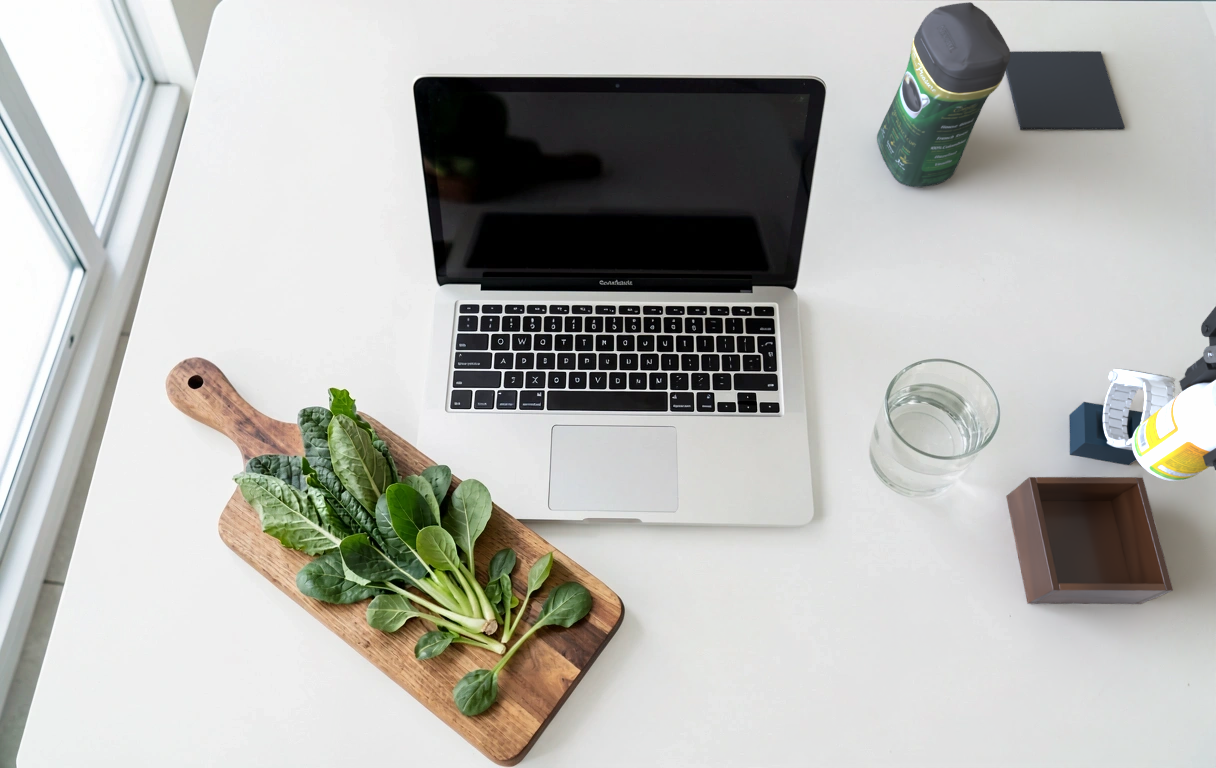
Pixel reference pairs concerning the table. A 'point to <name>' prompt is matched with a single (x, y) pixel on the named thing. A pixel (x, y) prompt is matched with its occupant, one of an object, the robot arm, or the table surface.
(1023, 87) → the mat
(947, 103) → the coffee jar
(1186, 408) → the supplement bottle
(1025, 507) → the wooden box
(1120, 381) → the watch
